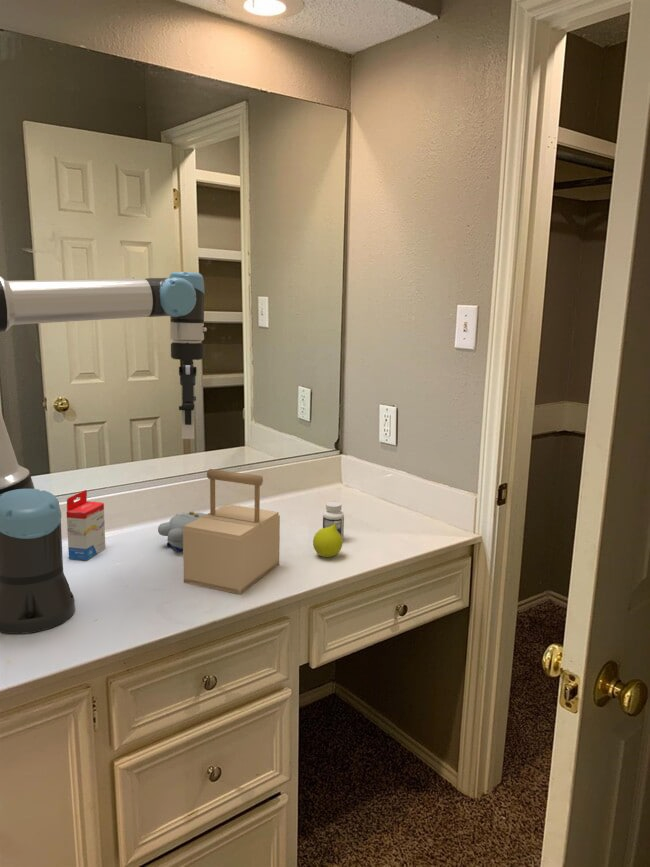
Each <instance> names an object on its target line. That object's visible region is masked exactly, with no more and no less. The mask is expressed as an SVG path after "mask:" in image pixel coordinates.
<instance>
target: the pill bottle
mask: <svg viewBox="0 0 650 867" xmlns="http://www.w3.org/2000/svg"><path fill="white" fill-rule="evenodd" d="M335 521H336V522H337V524H336V529H337V531H338V532H339V533H340V535H341V537H342V542H343V541H344V526H345V525H344V523H345V514H344V512H343V511H342V503H341V502H337V501H329V502H326V503H325V511H324V512H323V514H322V528H326V527H331V526H332V525H333V524H334V522H335Z"/></svg>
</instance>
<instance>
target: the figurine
mask: <svg viewBox="0 0 650 867" xmlns="http://www.w3.org/2000/svg"><path fill="white" fill-rule="evenodd" d="M207 514H208V513H204V512H194V511H189V512H185V513H184V512H183V513H179V514H178V513H177V514H176V515H173V516H172V517H171V518H170V520H169V521H167V522H162V523H160V524H159V525H158V527H157V532H158V535H160V536H163V537H167V542H166V546H167V547H168V548H173V549H174V551H175V553H181V552H182V553H183V529H184V526H185V525H187V524H189V523H191V522H193V521H195V520H197V519H199V518H201V517H202V516H204V515H207Z"/></svg>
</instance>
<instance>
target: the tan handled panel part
mask: <svg viewBox="0 0 650 867" xmlns="http://www.w3.org/2000/svg"><path fill="white" fill-rule="evenodd" d="M206 478H207V479H208V480H209V485H210V486H209V492H210V494H209V495H210V496H209V500H210V502H209V505H210V506H209V507H210V512H208V513H206V514H207V515H211V516H217V517H223V518H229V519H235V520H241V521H247V522H253V523H259V524H260V526H262V525H264V524H265V523H267V522H269V521H270V520H272V519H274V518H275V517H277V516H278V515H279V511H274V510H268V509H261V507H260V506H261V505H260V502H261V501H260V500H261V499H260V491H261V490H260V488H261V486H262V485H263V484H264V483H263V482H264V479H263V476H262V475H257V474H250V473H244V472H243V473H242V472H236V471H229V470H222V469H221V470H220V469H213V468H209V469H208V470H207V472H206ZM216 481H222V482H229V483H235V484H241V485H242V484H243V485H249V486H254V507H248V506H241V505H236V504H235V505H234V504H231V503H229V504H228V503H226V504H224V505H223V506H221V507H219V508H216Z"/></svg>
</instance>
